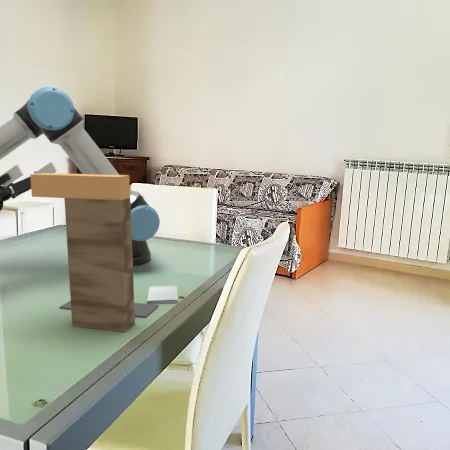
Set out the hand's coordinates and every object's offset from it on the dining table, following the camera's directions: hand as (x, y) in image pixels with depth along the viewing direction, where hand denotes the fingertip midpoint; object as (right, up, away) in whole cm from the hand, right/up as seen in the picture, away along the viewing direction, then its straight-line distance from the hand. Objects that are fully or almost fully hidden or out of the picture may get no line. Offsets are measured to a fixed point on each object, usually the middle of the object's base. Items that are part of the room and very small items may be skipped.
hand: (38, 167), depth 120 cm
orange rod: (+15, -8, -15) cm, 23 cm away
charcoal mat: (+18, -36, +1) cm, 40 cm away
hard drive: (+31, -35, +10) cm, 48 cm away
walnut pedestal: (+20, -38, -10) cm, 44 cm away
